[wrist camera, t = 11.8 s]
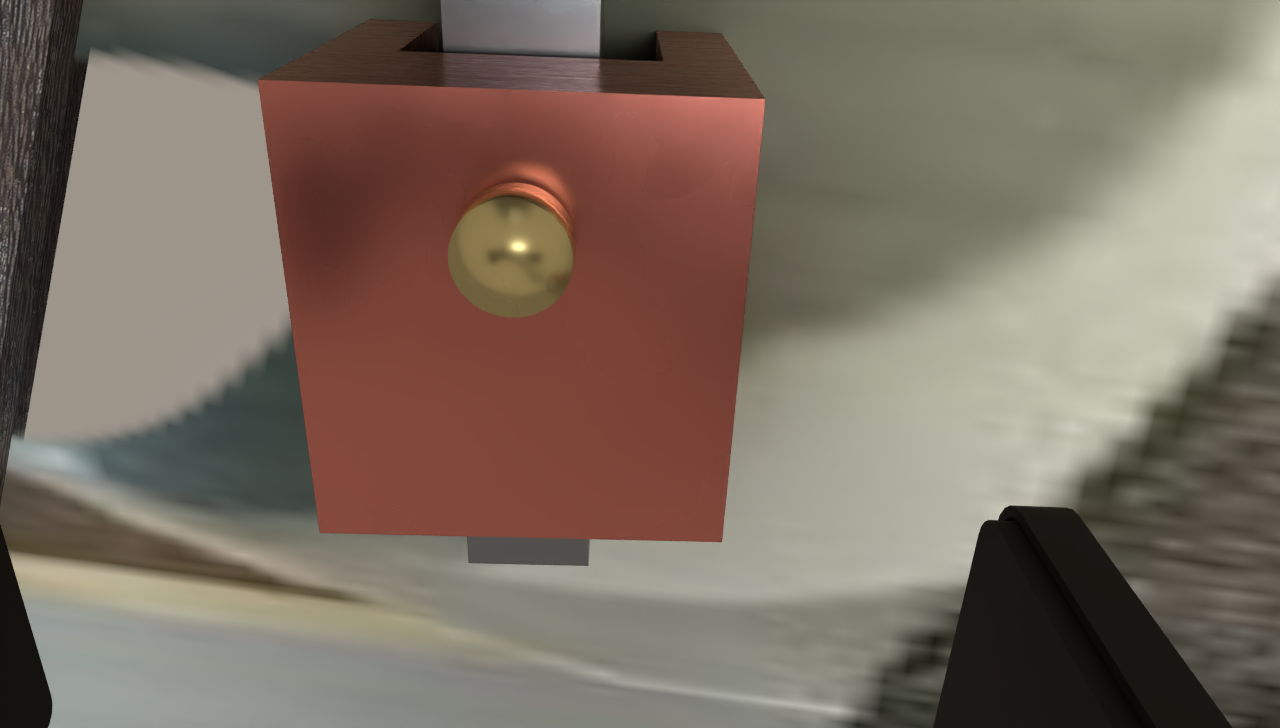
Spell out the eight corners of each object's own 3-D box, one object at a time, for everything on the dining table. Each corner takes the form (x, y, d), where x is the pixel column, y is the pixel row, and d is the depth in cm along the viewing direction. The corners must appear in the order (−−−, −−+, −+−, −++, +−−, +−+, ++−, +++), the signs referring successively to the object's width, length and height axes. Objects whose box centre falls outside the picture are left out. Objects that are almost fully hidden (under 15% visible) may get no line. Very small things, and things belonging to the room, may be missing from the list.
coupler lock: (696, 371, 21) (726, 574, 15) (399, 362, 20) (305, 565, 14) (721, 33, 17) (774, 112, 11) (371, 19, 17) (234, 92, 11)
